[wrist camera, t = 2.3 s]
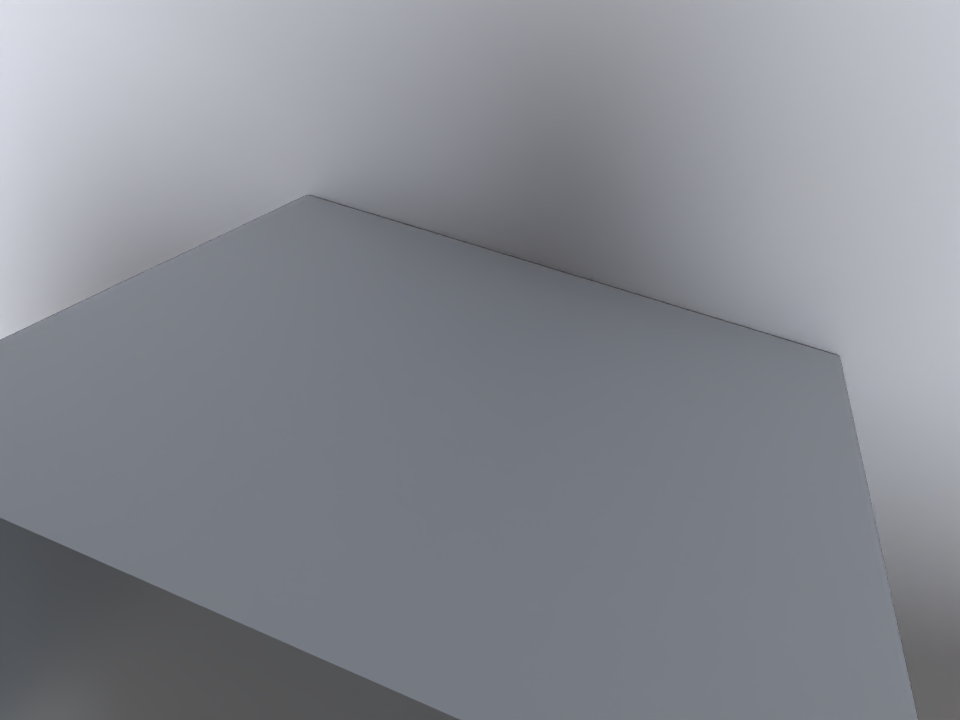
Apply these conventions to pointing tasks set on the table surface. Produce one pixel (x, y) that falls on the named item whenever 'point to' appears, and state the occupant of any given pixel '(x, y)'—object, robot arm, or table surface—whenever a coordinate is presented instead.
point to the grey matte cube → (427, 497)
